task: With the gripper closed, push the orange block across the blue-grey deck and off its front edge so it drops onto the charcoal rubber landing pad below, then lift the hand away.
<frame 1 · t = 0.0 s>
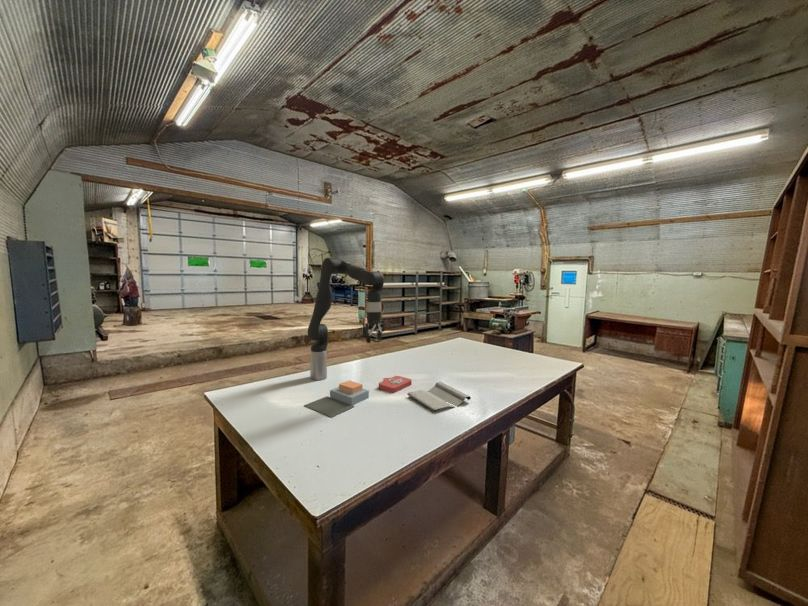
hand: (374, 341, 164), 29 cm above the workbench, fingers open, 8 cm apart
deck: (349, 397, 164), on the workbench
mat: (438, 400, 163), on the workbench
orange block: (350, 389, 164), point 4 cm above the workbench, touching deck
red flat case: (393, 386, 182), on the workbench
landing pad: (329, 406, 153), on the workbench
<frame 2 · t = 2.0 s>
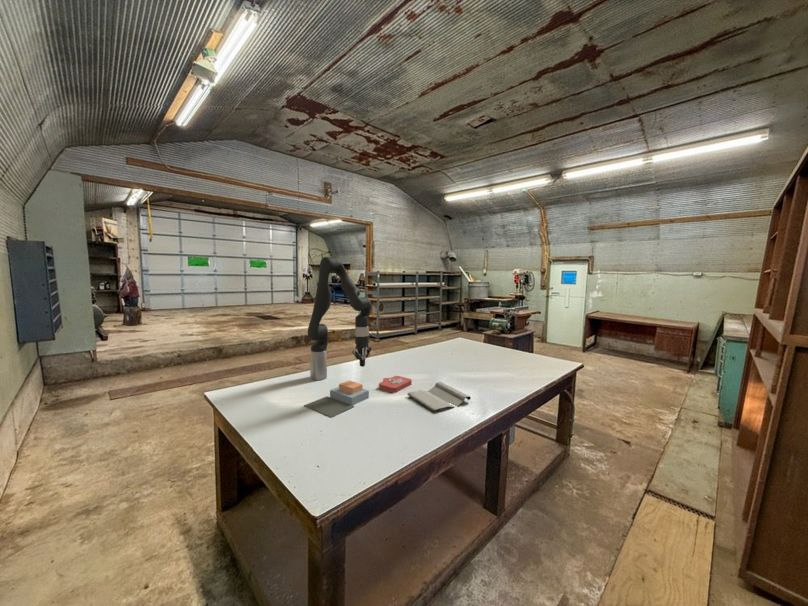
hand: (362, 366, 170), 15 cm above the workbench, fingers closed
nothing on the workbench moved.
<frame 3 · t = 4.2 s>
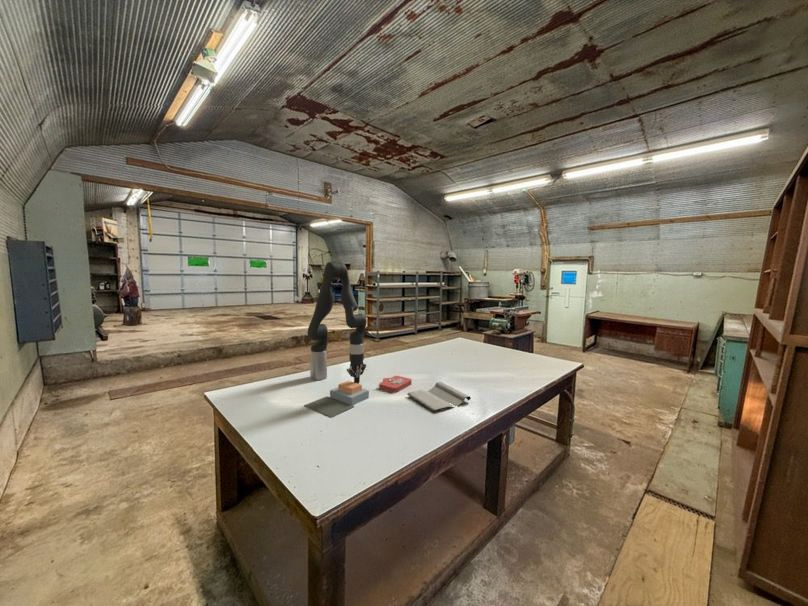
hand: (356, 383, 167), 6 cm above the workbench, fingers closed
nothing on the workbench moved.
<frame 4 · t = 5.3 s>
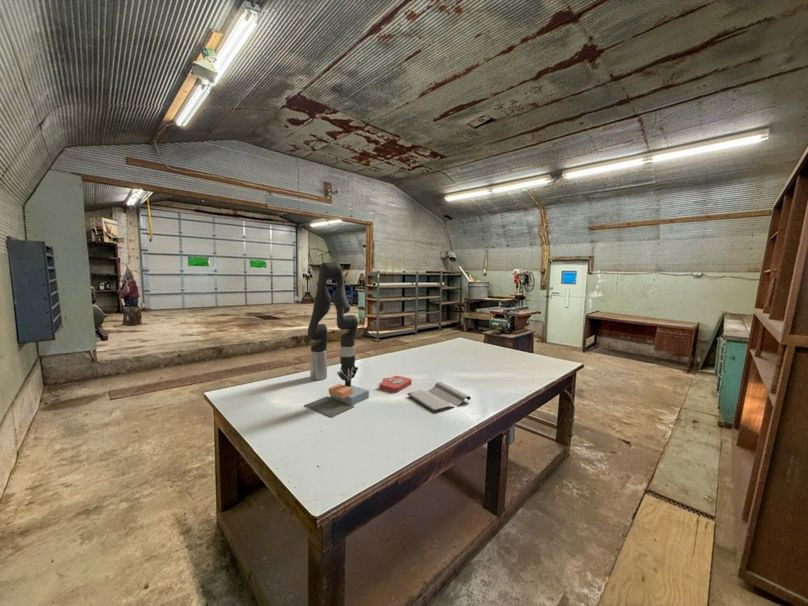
hand: (347, 387, 162), 6 cm above the workbench, fingers closed
orange block: (341, 393, 158), point 4 cm above the workbench, touching deck, gripper
everything else where it was.
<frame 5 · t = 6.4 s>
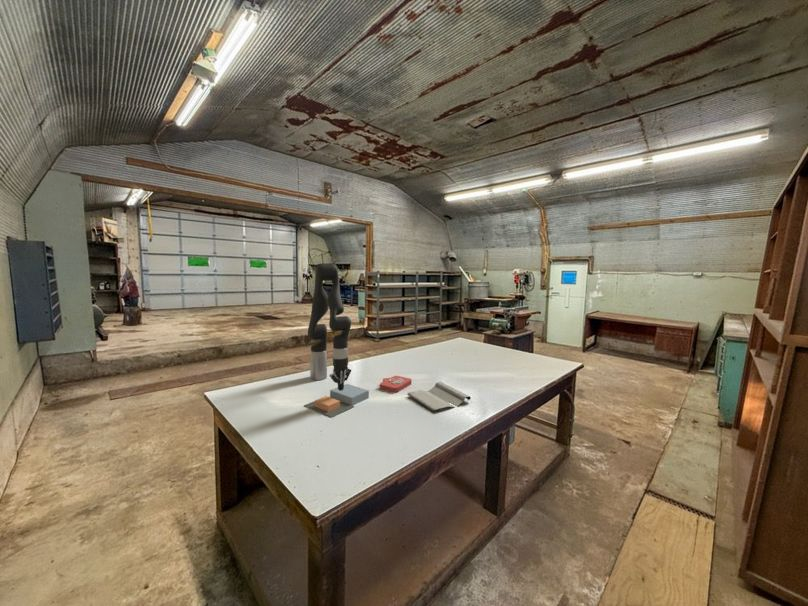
hand: (340, 389, 158), 6 cm above the workbench, fingers closed
orange block: (327, 400, 151), point 3 cm above the workbench, tilted 180°, touching landing pad
everything else where it was.
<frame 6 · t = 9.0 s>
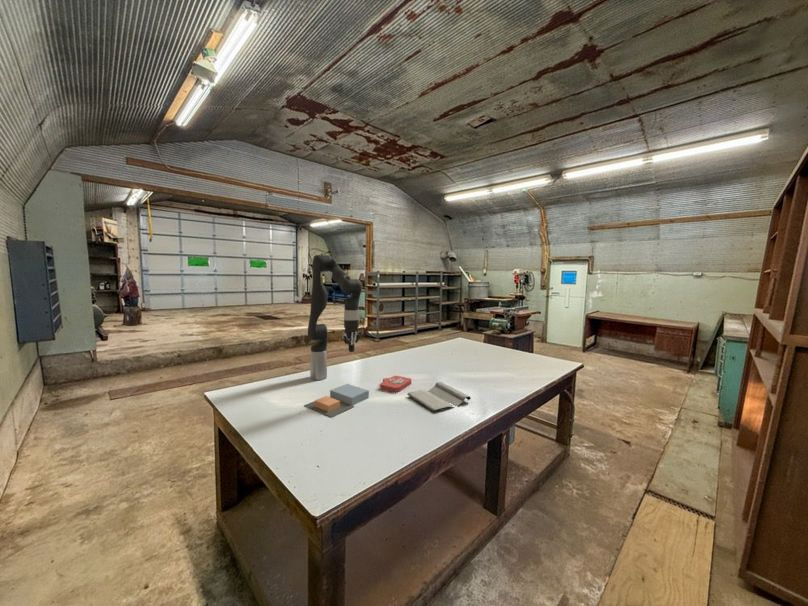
hand: (351, 351, 162), 24 cm above the workbench, fingers closed
nothing on the workbench moved.
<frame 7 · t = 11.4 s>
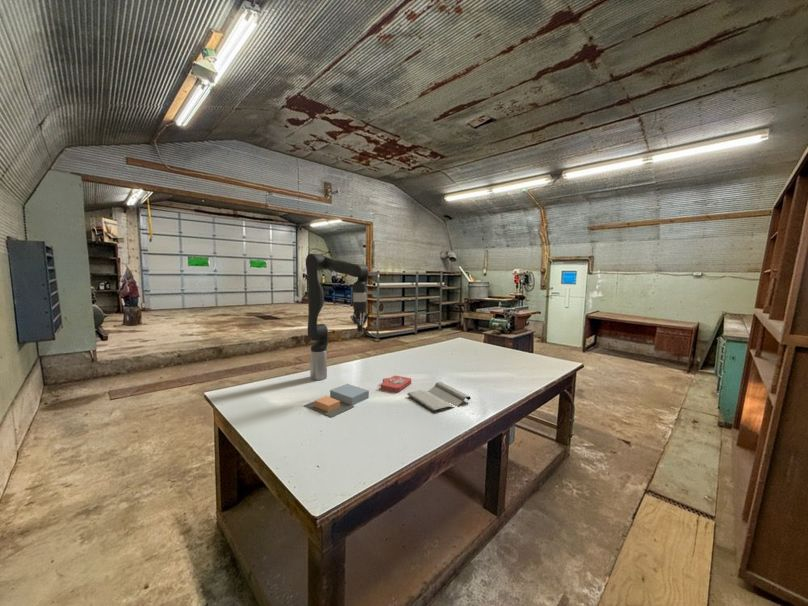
hand: (359, 331, 177), 32 cm above the workbench, fingers closed
at the end: orange block inside the target area on the landing pad (1.2 cm from its centre), point 3.4 cm above the landing pad's base; orange block touching landing pad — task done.
